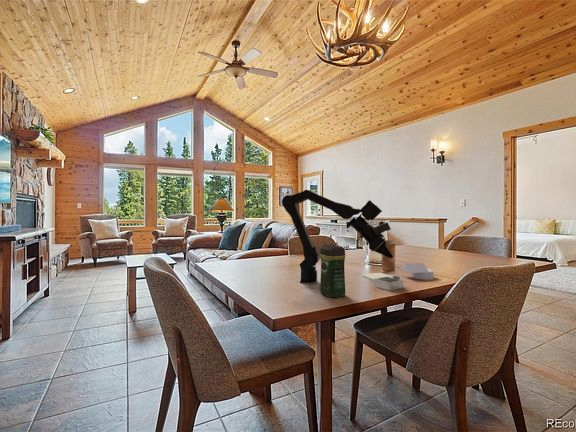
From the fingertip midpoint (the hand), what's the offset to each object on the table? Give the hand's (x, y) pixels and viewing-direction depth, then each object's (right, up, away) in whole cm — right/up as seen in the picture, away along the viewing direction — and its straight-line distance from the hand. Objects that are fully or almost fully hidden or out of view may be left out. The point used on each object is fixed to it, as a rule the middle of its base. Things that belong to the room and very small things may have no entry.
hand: (392, 256), depth 120 cm
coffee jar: (-25, -13, -9) cm, 30 cm away
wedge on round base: (+18, -12, +17) cm, 27 cm away
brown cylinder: (-1, -7, +1) cm, 7 cm away
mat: (0, -12, +17) cm, 21 cm away
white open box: (-1, -12, +1) cm, 12 cm away
